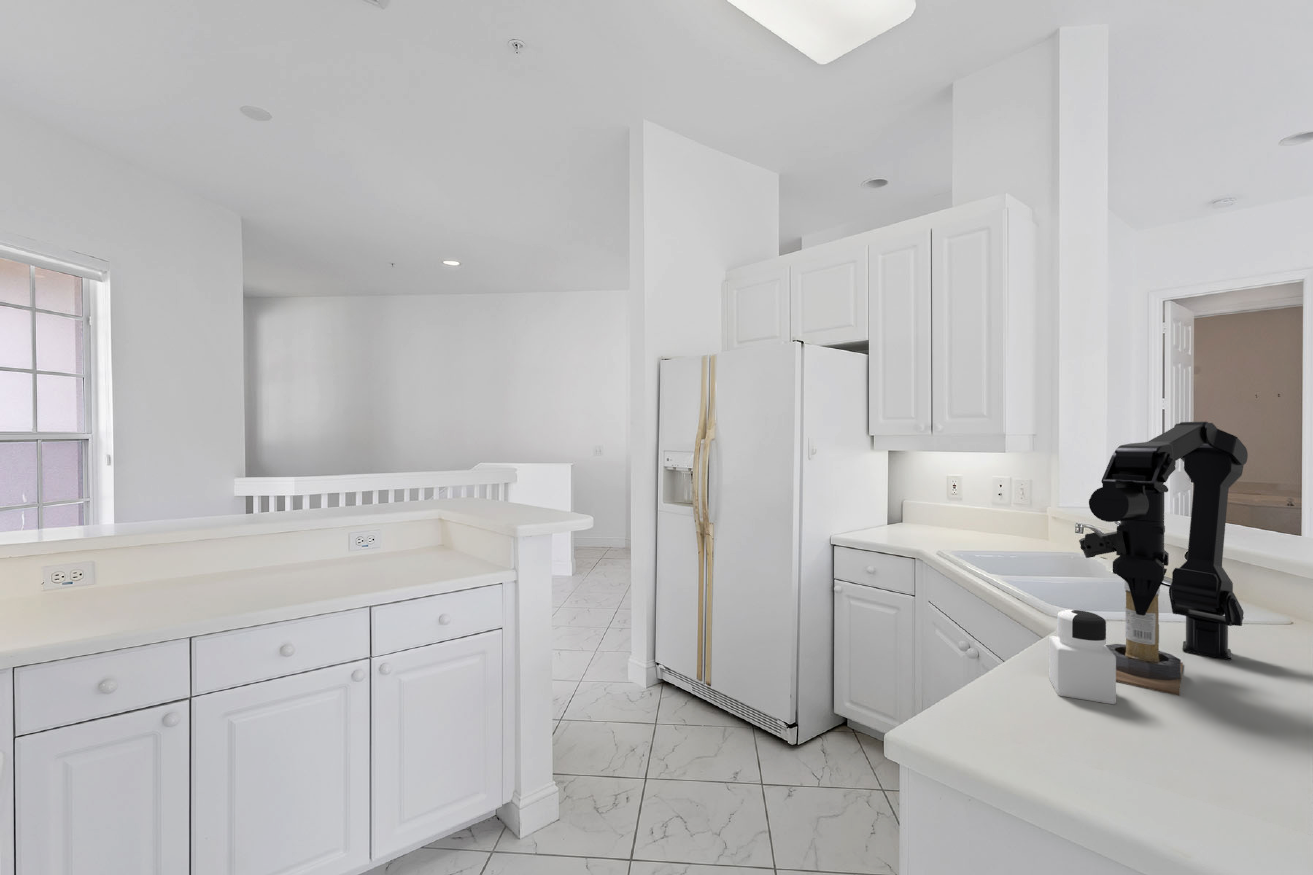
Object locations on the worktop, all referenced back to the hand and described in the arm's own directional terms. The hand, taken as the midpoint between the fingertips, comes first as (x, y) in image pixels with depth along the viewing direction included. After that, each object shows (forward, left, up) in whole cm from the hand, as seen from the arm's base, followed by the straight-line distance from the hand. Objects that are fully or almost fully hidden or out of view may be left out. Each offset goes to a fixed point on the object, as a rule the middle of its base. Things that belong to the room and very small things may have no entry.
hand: (1141, 612), depth 99 cm
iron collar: (0, 0, -10) cm, 10 cm away
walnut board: (0, 0, -10) cm, 10 cm away
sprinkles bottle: (0, 0, -8) cm, 8 cm away
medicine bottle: (+18, -6, -10) cm, 22 cm away
